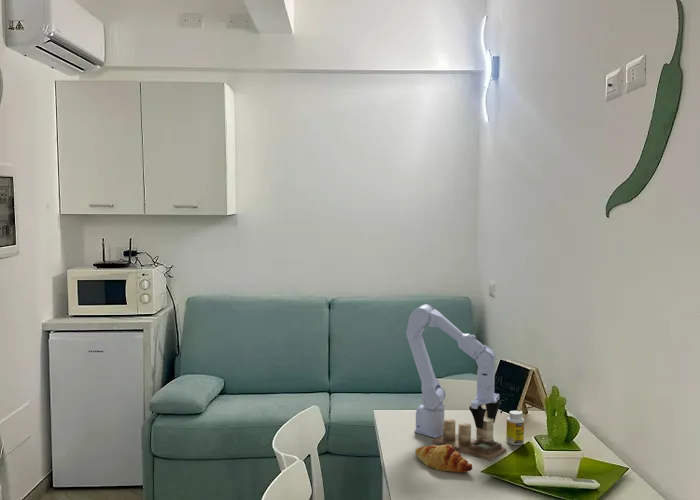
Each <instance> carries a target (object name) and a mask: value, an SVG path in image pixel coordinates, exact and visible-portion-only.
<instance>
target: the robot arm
mask: <svg viewBox="0 0 700 500" xmlns="http://www.w3.org/2000/svg"><path fill="white" fill-rule="evenodd" d="M427 326H428V327H429V328H430V327H433V328H434V327H435V328H439V329H440V330H441V331H443V332H444V333H446V334H447V335H449V336H450V337H451V338H452V339H454V340H456V342H457V345H458V348H459V349H461V350H462V352H464V353H465V354H466V355H468V356H469V357H470V358H471V359H473V360H475V362H476V363H475V364H476V365H477V371H476V397H475V399H474V400H473V401H471V403H470V405H469V407H468V408H469V411H470V412H471V415H472V417H473V421H474V424H475V429H477V428H480V429H482V428H483V421H484V417H489V418H493V424H495V421H496V418H497V414H498V412H499V409H500V407H501V405H502V401H499V400H500V394H499V393H495V377H496V376H495V374H496V371H495V361H496V356H497V355H496V353H495V351H494V350H493V349H492V348H490V347H488V346H487V345H486V344H483V343H482V342H480V341H479V340H478V339H477V338H476V335H475V334H470V333H464V332H462V331H461V330H460V329H459V328H458V327H457V326H456V325H455V324H453V322H451V321H450V320H449V319H448V318H446V317H445V316H444V315H443V314H442V313H441V312H440V311H439V310H438V309H436V308H434V307H433V306H431V305H430V304H427V303H426V304H421V305H420V306H418V307H417V308H415V309H413V311H412V312H411V313H410V315H409V316H408V323H407V327H406V331H405V335H406V338H407V341H408V345H409V348H410V351H411V353H412V357H413V360H414V363H415V367H416V370H417V372H418V375H419V379H420V382H421V386H420V388H421V393H422V397H421V402H422V404H419V406H418V407H417V409H416V410H415V429H414V433H416V434H417V433H418V434H420V435H422V436H423V435H425V436H427V437H430V438H434V439H435V438H438V437H440V436H442V435H443V420H444V419H445V405H444V403H443V401H444V400H445V399H446V390H445V389H444V388H443V387H442V385H441V384H440V382H439V379H437V377H436V374H435V372H434V368H433V366H432V362H431V359H430V356H429V353H428V350H427V346H426V344H425V340H424V338H423V332H424V330H425V329H426V327H427ZM482 406H485V408H483V407H482ZM485 415H486V416H485Z"/></svg>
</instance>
